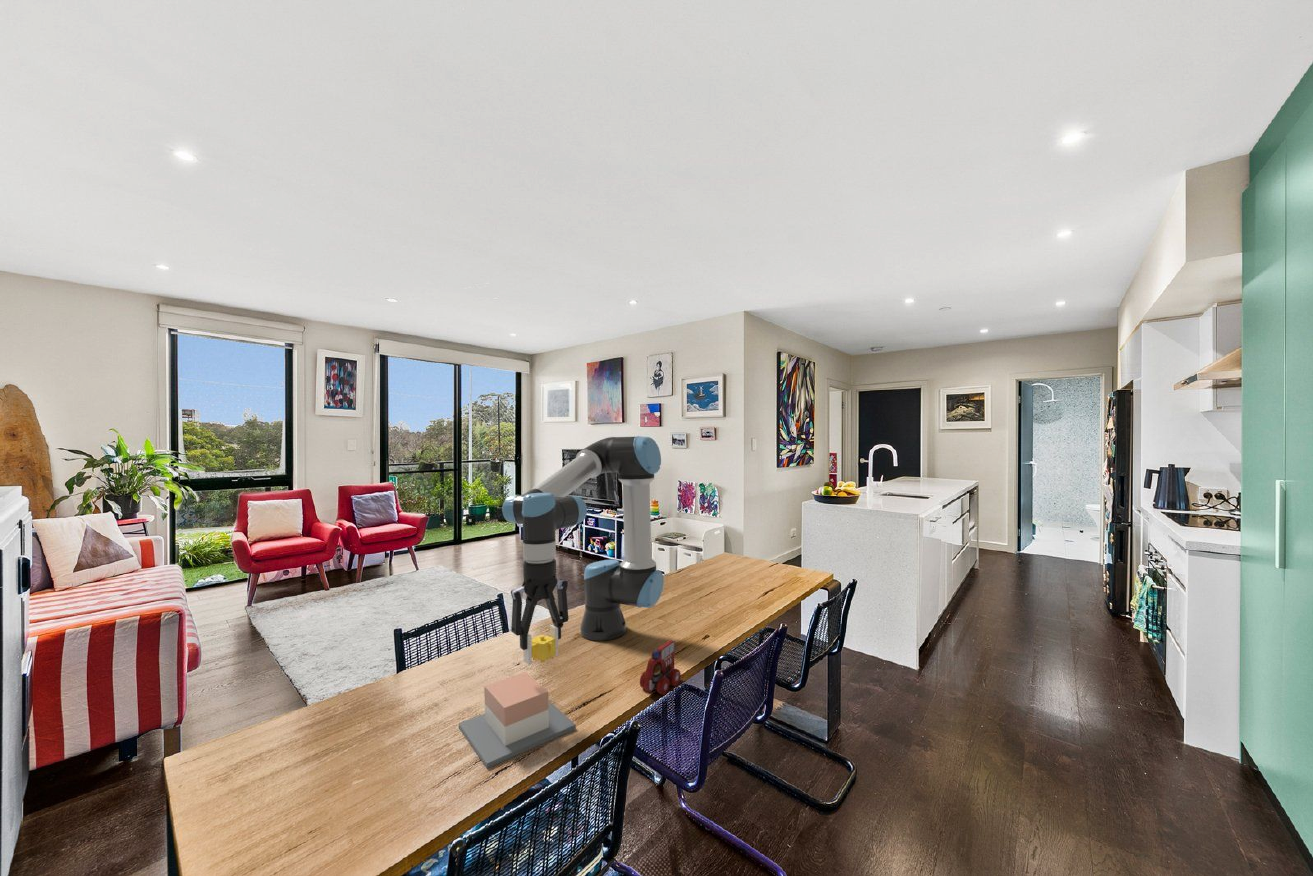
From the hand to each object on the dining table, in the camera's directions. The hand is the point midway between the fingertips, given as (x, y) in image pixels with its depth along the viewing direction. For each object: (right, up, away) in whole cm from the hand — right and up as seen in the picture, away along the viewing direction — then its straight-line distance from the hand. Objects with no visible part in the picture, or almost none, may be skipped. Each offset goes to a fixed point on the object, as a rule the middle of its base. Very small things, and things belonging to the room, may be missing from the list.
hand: (541, 657), depth 116 cm
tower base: (-4, -14, -5) cm, 15 cm away
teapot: (0, 0, 0) cm, 1 cm away
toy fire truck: (+28, -13, +12) cm, 33 cm away
